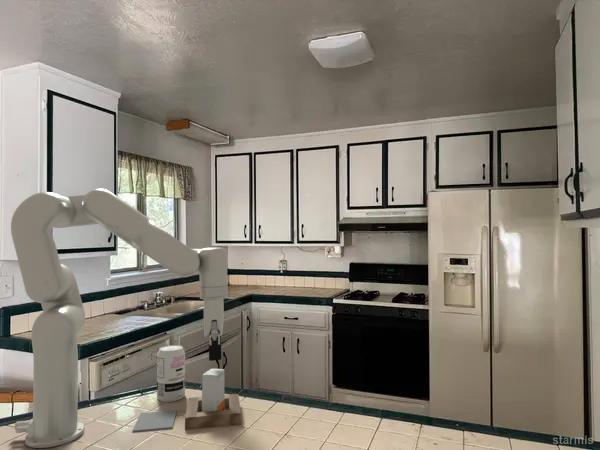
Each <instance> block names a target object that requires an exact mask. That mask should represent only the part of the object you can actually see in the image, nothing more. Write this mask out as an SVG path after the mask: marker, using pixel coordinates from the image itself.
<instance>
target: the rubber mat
mask: <svg viewBox="0 0 600 450" xmlns="http://www.w3.org/2000/svg"><path fill="white" fill-rule="evenodd" d="M177 412H178V410H177V409H174V410H164V411H163V410H161V411H160V410H159V411H151V412H140V414H139V416H138V418H137V421H136V423H135V424H134V426H133V429H132V433H136V432H138V433H139V432H148V431H158V430H172V429H174V424H175V420H176V416H177Z"/></svg>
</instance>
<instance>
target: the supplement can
mask: <svg viewBox="0 0 600 450" xmlns="http://www.w3.org/2000/svg"><path fill="white" fill-rule="evenodd" d="M185 395H186V352H185V349H184V347H183V346H182V345H178V344H177V345H176V344H174V345H165V346H161V347H159V349H158V352H157V353H156V398H157V399H158V401H160V402H164V403H165V402H167V403H168V402H169V403H170V402H171V403H173V402H177V401H179V400H181V399H183V397H184V396H185Z"/></svg>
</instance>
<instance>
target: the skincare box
mask: <svg viewBox="0 0 600 450" xmlns="http://www.w3.org/2000/svg"><path fill="white" fill-rule="evenodd" d="M225 370H226V369H223V368H210V369H209V370H207V371H205V372H204V373H203V374H202V376H201V381H202V383H201V397H202V411H201V412H208V411H220V410H225V409H224V395H225V378H226V377H225V374H226V373H225Z"/></svg>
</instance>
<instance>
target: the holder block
mask: <svg viewBox="0 0 600 450" xmlns="http://www.w3.org/2000/svg"><path fill="white" fill-rule="evenodd" d="M239 395H240V394H238V393H233V394H224V410H220V411H208V412H202V396H198V397H197V396H194V397H188V400H187V406H186V410H185V415H184V431H186V430H198V429H210V428H221V427H231V426H241V425H242V424H241V423H242V419H241V418H242V417H241V415H242V413H241V412H242V411H241V404H240V397H239Z"/></svg>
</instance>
